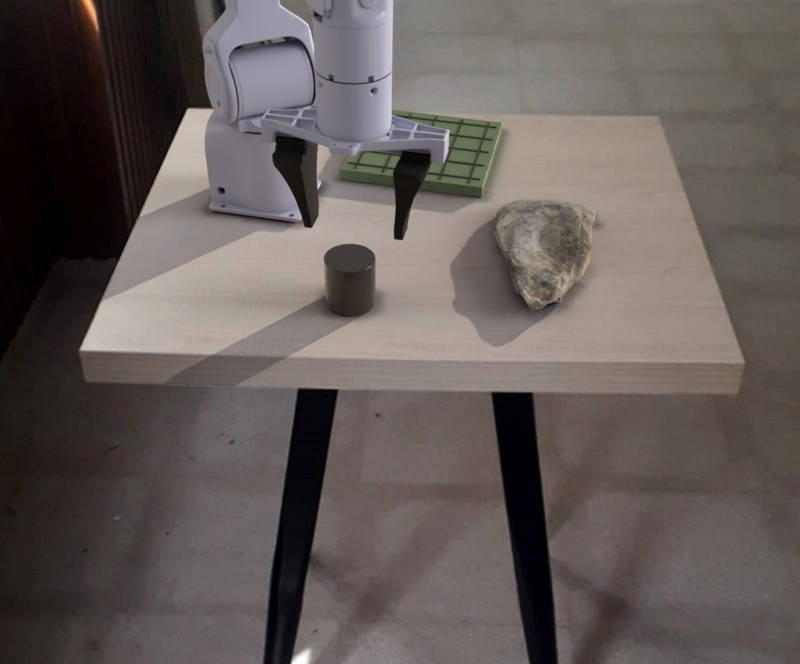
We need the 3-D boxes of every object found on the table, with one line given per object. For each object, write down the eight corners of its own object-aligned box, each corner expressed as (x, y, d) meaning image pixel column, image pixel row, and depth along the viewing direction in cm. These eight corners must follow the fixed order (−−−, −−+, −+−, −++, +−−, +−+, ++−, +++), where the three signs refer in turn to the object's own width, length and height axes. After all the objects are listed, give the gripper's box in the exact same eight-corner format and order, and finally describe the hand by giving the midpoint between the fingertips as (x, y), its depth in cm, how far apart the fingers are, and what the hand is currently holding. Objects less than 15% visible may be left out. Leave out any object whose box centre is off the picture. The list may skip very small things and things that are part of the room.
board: (340, 179, 100) (339, 167, 99) (373, 117, 111) (373, 106, 110) (481, 197, 98) (482, 186, 97) (502, 132, 109) (503, 121, 108)
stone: (490, 335, 84) (605, 337, 84) (491, 305, 82) (610, 306, 81) (493, 204, 98) (592, 205, 97) (494, 174, 95) (595, 174, 94)
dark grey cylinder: (319, 312, 83) (317, 268, 80) (333, 283, 86) (331, 240, 83) (368, 319, 82) (368, 275, 79) (380, 290, 85) (380, 247, 82)
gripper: (241, 79, 69) (257, 241, 78) (440, 102, 66) (432, 265, 75) (272, 42, 74) (283, 198, 83) (457, 62, 72) (448, 219, 81)
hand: (355, 227), depth 79 cm, fingers open, 7 cm apart
